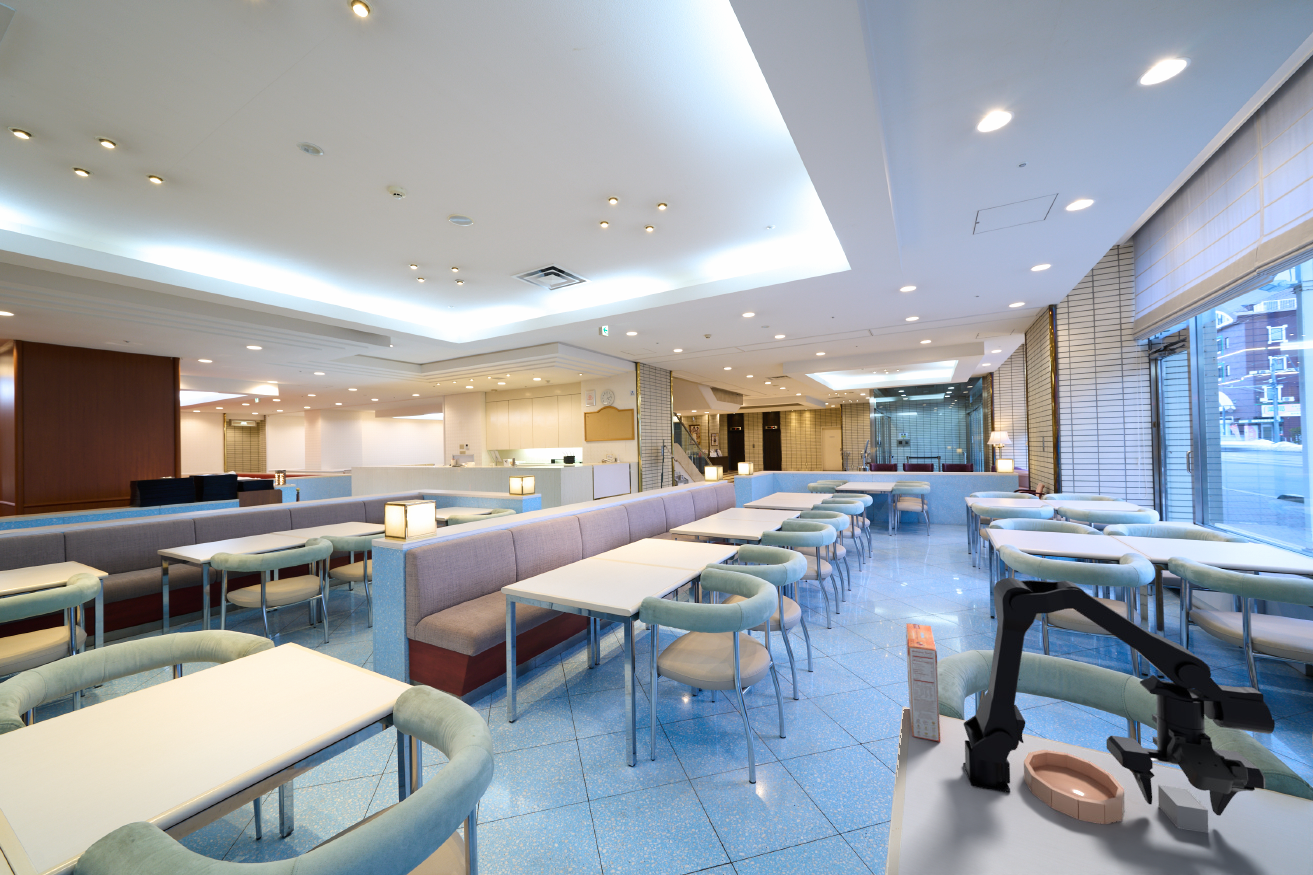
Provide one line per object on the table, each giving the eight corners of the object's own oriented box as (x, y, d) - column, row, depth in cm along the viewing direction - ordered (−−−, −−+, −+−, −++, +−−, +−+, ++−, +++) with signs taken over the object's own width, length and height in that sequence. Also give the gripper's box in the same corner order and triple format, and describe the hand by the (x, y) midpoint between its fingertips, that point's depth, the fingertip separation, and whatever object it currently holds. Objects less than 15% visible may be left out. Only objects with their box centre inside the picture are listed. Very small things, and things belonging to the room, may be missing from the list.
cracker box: (907, 704, 123) (905, 621, 122) (935, 709, 120) (932, 624, 120) (910, 737, 110) (907, 645, 110) (941, 743, 108) (938, 649, 107)
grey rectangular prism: (1177, 828, 84) (1177, 805, 84) (1158, 806, 88) (1158, 784, 88) (1208, 833, 82) (1207, 810, 82) (1187, 811, 87) (1186, 788, 87)
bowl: (1043, 813, 88) (1043, 794, 88) (1014, 761, 101) (1013, 745, 101) (1142, 830, 83) (1142, 810, 83) (1098, 774, 97) (1097, 757, 96)
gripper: (1141, 739, 80) (1143, 832, 81) (1295, 759, 75) (1297, 860, 75) (1103, 702, 91) (1105, 785, 91) (1236, 717, 85) (1238, 805, 85)
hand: (1181, 807), depth 85 cm, fingers open, 9 cm apart
